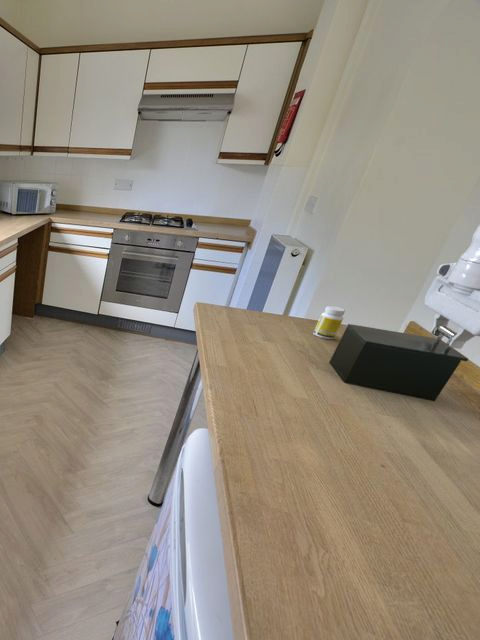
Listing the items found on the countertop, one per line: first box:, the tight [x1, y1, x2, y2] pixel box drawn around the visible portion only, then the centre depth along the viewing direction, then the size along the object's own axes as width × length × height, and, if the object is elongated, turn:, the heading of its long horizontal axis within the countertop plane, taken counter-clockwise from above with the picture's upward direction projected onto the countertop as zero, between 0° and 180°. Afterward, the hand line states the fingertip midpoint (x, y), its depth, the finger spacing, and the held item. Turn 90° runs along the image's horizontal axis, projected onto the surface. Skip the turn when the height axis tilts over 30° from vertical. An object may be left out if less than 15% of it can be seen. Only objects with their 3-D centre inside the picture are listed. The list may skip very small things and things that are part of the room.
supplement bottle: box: [312, 305, 346, 340], centre depth 114 cm, size 5×5×8 cm
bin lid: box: [347, 323, 469, 362], centre depth 88 cm, size 16×11×4 cm, turn 66°
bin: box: [329, 326, 462, 402], centre depth 91 cm, size 16×11×10 cm
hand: (444, 340), depth 86 cm, fingers closed on bin lid, 5 cm apart
